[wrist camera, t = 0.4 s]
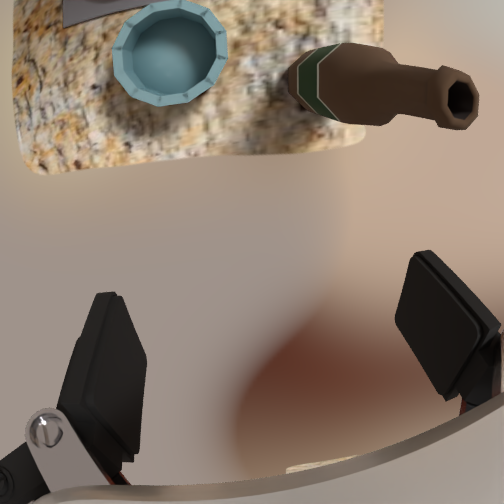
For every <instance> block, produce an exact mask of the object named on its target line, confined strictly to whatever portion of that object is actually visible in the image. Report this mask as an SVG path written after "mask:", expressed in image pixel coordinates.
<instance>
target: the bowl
mask: <svg viewBox="0 0 504 504" xmlns="http://www.w3.org/2000/svg"><path fill="white" fill-rule="evenodd" d="M112 56H113V68H114V76H115V77H116V79H117V80H118V81H119V82H120V84H121V85H122V86H123V87H124V89H125V90H126V91H127V92H128V94H129V95H130V96H131V97H133V98H135V99H138V100H141V101H144V102H147V103H149V104H152V105H155V106H157V107H160V106H166V105H173V104H180V103H187V102H190V101H191V100H192V99H194V98H195V97H197V96H198V95H200V94H201V93H203V92H204V91H205V90H207V89H208V88H210V87H211V86H213V85H214V84H215V82H216V80H217V78H218V76H219V74H220V72H221V70H222V69H223V67H224V65H225V63H226V61H227V59H228V52H227V36H226V30H225V29H224V27H223V26H222V25H221V23H220V22H219V21H218V19H217V18H216V17H215V16H214V14H213V13H212V12H211V11H210V9H208V8H206V7H203V6H200V5H198V4H195V3H192V2H189V1H186V0H169V1H163V2H157V3H151V4H149V5H148V6H146V7H145V8H143V9H142V10H141V11H139V12H138V13H136V14H135V15H134V16H132V17H131V18H130V19H128V20H127V21H126V22H125V23H124V25H123V27H122V29H121V31H120V33H119V35H118V37H117V39H116V41H115V43H114V45H113V47H112Z"/></svg>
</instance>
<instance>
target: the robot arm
mask: <svg viewBox="0 0 504 504" xmlns="http://www.w3.org/2000/svg"><path fill="white" fill-rule="evenodd" d="M395 323H396V326H397V327H398V328H399V330H400V331H401V333H402V335H403V337H404V338H405V340H406V341H407V343H408V345H409V346H410V348H411V349H412V351H413V352H414V354H415V356H416V357H417V359H418V361H419V362H420V364H421V365H422V367H423V369H424V371H425V372H426V374H427V375H428V377H429V379H430V381H431V382H432V384H433V386H434V387H435V389H436V391H437V392H438V394H440V395H442V396H443V398H444V399H445V401H448V400H450V399H453V398H455V397H457V396H458V394H459V393H460V395H461V396H462V400H461V407H460V412H459V416H458V417H456V418H454V419H452V420H450V421H448V422H446V423H444V424H442V425H439V426H437V427H435V428H433V429H430V430H428V431H426V432H424V433H421V434H419V435H416V436H414V437H411V438H409V439H406V440H404V441H401V442H399V443H396V444H393V445H391V446H388V447H385V448H382V449H379V450H377V451H374V452H371V453H367V454H364V455H361V456H358V457H354V458H351V459H348V460H344V461H340V462H337V463H333V464H329V465H325V466H321V467H317V468H313V469H308V470H304V471H299V472H294V473H289V474H283V475H278V476H272V477H266V478H259V479H252V480H244V481H235V482H225V483H213V484H196V485H175V486H174V485H171V486H149V485H131V484H130V483H129V481H128V480H127V479H126V478H125V477H124V475H123V474H122V473H121V472H120V471H121V470H122V462H134V454H138V453H139V449H140V434H141V433H140V432H141V419H142V407H143V397H144V386H145V377H146V367H147V359H146V354H145V352H144V349H143V347H142V345H141V342H140V340H139V337H138V335H137V333H136V331H135V328H134V325H133V323H132V320H131V318H130V315H129V313H128V310H127V308H126V305H125V302H124V300H123V297H122V296H117V294H116V293H115V292H104V293H97V294H96V296H95V298H94V301H93V304H92V306H91V309H90V312H89V314H88V317H87V320H86V322H85V325H84V328H83V331H82V334H81V336H80V337H79V338H78V340H77V341H76V344H75V347H74V350H73V353H72V356H71V359H70V362H69V365H68V369H67V372H66V375H65V379H64V382H63V385H62V389H61V392H60V396H59V400H58V404H57V407H56V409H54V408H45V409H42V410H40V411H37V412H36V413H35V414H34V415H32V416H31V418H30V419H29V421H28V423H27V425H26V429H25V438H26V442H25V443H23V444H22V445H21V446H19V447H18V448H17V449H15V450H14V451H12V452H11V453H10V454H8V455H7V456H6V457H5V458H3V459H2V460H0V504H504V330H503V331H502V333H501V334H500V333H499V332H498V330H499V328H500V326H501V323H500V322H499V321H498V320H497V319H496V317H495V316H494V315H493V314H492V313H491V312H490V311H489V309H488V308H487V307H486V306H485V305H484V304H483V303H482V302H481V301H480V299H479V298H478V297H477V296H476V295H475V294H474V293H473V292H472V291H471V290H470V289H469V288H468V287H467V285H466V284H465V283H464V282H463V281H462V280H461V279H460V278H459V277H458V276H457V275H456V274H455V273H454V272H453V271H452V270H451V269H450V268H449V267H448V266H447V265H446V264H445V263H444V262H443V261H442V260H441V259H440V258H439V257H438V256H437V255H436V254H435V253H434V252H432V251H431V250H425V251H419V252H416V253H414V255H413V257H411V259H410V261H409V265H408V269H407V273H406V278H405V281H404V285H403V289H402V293H401V296H400V300H399V303H398V307H397V310H396V314H395Z"/></svg>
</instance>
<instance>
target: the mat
mask: <svg viewBox="0 0 504 504" xmlns="http://www.w3.org/2000/svg"><path fill="white" fill-rule="evenodd" d="M163 1H169V0H63V28H66V27H69V26H72V25H75V24H78V23H81V22H84V21H87V20H90V19H94V18H97V17H101V16H104V15H108V14H112V13H116V12H120V11H124V10H128V9H133V8H137V7H142V6H147V5H149V4H151V3H157V2H163Z"/></svg>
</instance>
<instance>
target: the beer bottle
mask: <svg viewBox="0 0 504 504" xmlns="http://www.w3.org/2000/svg"><path fill="white" fill-rule="evenodd" d="M288 92H289V93H290V94H291V95H292V96H293V97H294V98H295V99H296V100H297V101H298V102H299V103H300V104H301V105H302V106H303V107H304V108H305V109H306V110H308V111H310V112H313V113H316V114H319V115H322V116H325V117H328V118H331V119H333V120H336V121H339V122H342V123H348V124H359V125H374V126H382V125H384V124H387V123H389V122H390V121H391V120H392V119H393V118H394V117H395V116H396V115H397V114H405V115H411V116H416V117H421V118H426V119H431V120H435V121H436V123H437V125H438V127H441V128H447V129H453V130H466V129H467V128H468V127H469V126H470V125H471V123H472V122H473V121H474V120H475V119H476V118H477V116H478V106H479V93H478V91H477V89H476V87H475V85H474V83H473V81H472V80H471V77H470V76H469V75H467V74H465V73H463V72H461V71H459V70H456V69H453V68H450V67H447V66H443V65H442V66H441V67H440V68H439V69H438V70H433V69H428V68H422V67H416V66H409V65H401V64H398V62H397V61H396V60H395V58H394V57H393V56H392V54H391V53H390V52H388V51H386V50H385V49H383V48H379V47H373V46H368V45H362V44H356V43H341V44H336V45H331V46H327V47H323V48H318V49H314V50H310V51H308V52H306V53H304V54H303V55H302V56H301V57H300V58H299V59H298V60H297V61H296V62H294V63H293V64H292V65H291V66H290V67H289V68H288Z"/></svg>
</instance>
